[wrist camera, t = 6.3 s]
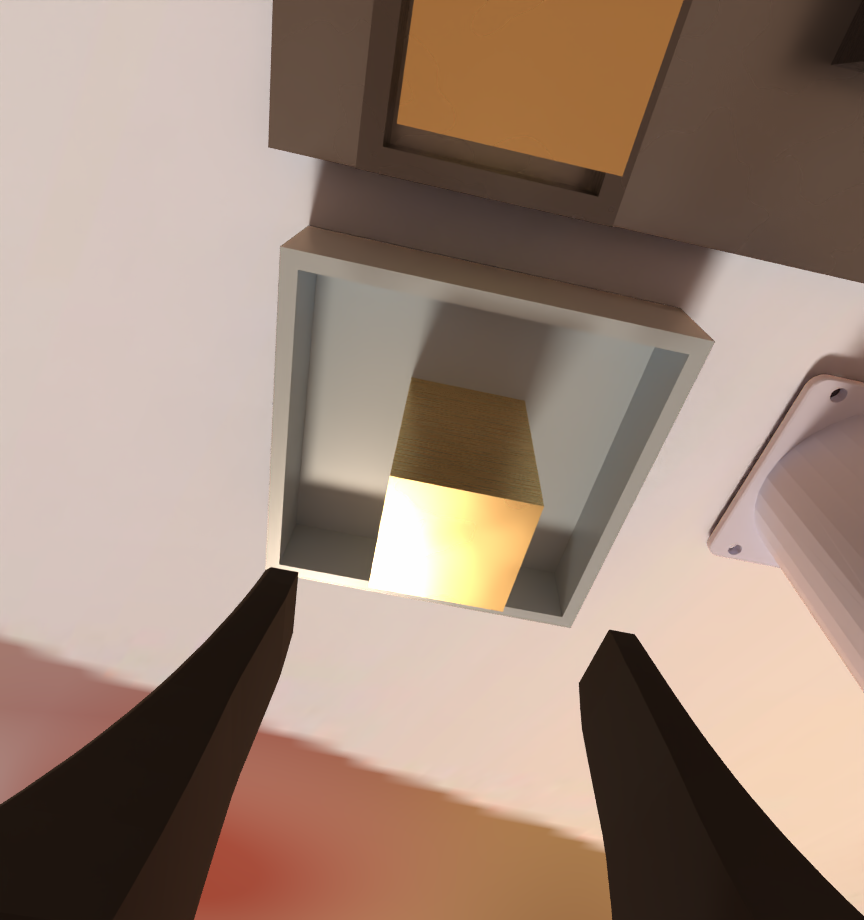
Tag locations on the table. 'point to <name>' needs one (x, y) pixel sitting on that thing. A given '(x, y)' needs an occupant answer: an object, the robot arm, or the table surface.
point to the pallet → (658, 139)
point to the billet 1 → (537, 74)
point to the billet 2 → (458, 497)
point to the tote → (472, 367)
